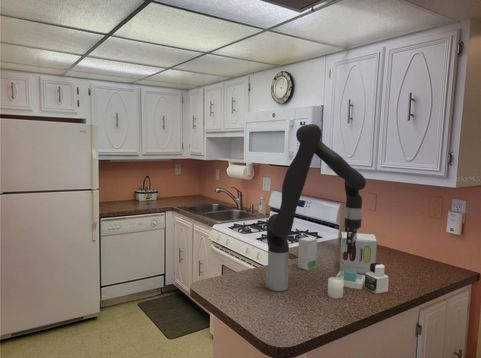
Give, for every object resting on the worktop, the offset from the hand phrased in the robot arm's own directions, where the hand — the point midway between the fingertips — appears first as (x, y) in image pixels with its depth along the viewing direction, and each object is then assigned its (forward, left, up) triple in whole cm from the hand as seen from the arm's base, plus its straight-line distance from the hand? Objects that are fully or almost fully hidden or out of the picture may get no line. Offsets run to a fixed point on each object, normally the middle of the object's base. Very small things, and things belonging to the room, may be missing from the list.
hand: (351, 251), depth 166 cm
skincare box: (-24, +11, -15) cm, 31 cm away
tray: (0, 0, -15) cm, 15 cm away
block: (0, 0, -15) cm, 15 cm away
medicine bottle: (+12, -3, -16) cm, 20 cm away
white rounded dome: (-3, -18, -15) cm, 24 cm away
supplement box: (0, +21, -16) cm, 26 cm away
